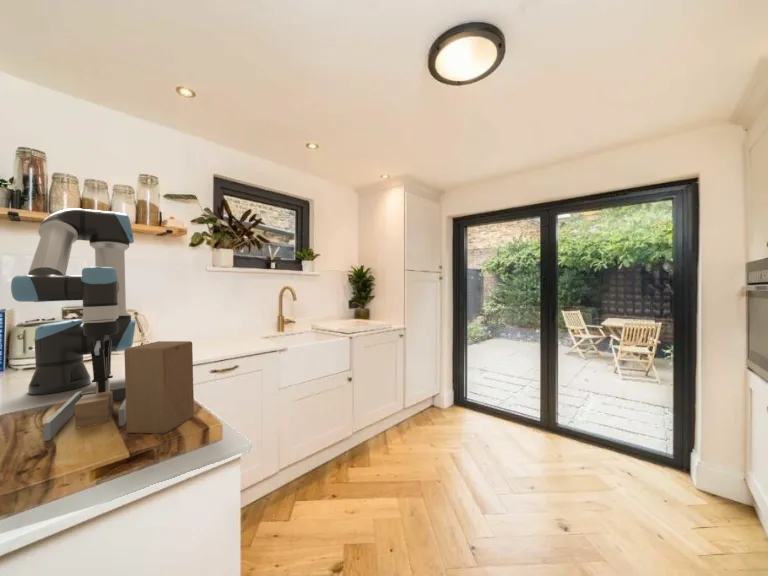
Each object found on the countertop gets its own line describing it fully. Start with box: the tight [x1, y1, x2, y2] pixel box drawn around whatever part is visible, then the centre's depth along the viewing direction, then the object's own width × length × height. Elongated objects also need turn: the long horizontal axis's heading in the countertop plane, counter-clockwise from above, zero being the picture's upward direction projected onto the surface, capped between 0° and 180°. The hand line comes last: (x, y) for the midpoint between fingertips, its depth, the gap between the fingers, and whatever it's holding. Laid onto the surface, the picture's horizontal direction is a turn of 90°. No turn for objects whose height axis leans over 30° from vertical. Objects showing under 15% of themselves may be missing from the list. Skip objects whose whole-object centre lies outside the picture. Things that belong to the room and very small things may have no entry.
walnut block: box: [74, 391, 114, 429], centre depth 81 cm, size 8×6×6 cm
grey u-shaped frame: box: [43, 386, 126, 442], centre depth 85 cm, size 26×14×4 cm, turn 33°
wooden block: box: [123, 340, 195, 435], centre depth 78 cm, size 10×10×20 cm
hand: (103, 402), depth 89 cm, fingers closed
